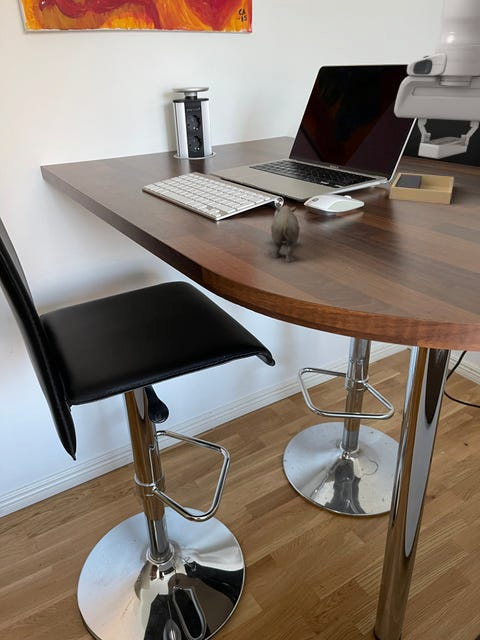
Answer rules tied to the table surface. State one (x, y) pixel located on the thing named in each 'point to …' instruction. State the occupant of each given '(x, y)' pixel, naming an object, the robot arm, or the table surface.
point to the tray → (425, 189)
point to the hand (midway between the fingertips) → (443, 144)
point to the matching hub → (410, 181)
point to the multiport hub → (441, 147)
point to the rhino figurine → (285, 231)
